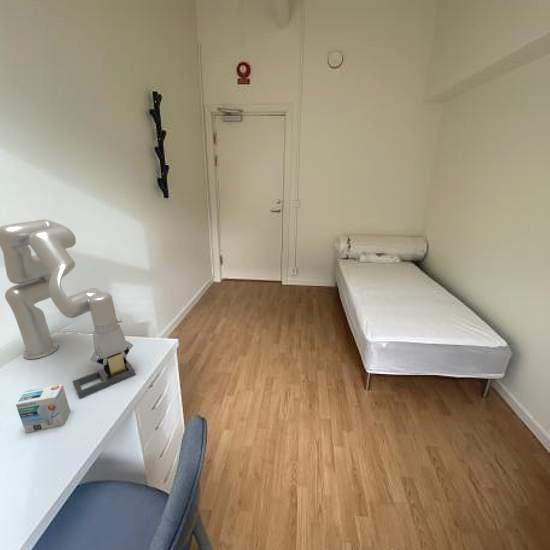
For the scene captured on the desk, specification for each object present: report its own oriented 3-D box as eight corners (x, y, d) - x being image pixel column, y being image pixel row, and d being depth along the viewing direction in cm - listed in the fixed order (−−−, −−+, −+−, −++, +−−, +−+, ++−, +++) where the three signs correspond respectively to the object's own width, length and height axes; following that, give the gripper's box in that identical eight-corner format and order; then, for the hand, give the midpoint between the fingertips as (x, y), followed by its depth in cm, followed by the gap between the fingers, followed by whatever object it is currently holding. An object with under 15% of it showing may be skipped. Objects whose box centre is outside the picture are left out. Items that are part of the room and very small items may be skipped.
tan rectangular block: (108, 371, 122) (103, 353, 119) (121, 366, 125) (117, 348, 122) (112, 377, 118) (107, 359, 116) (126, 372, 121) (122, 353, 119)
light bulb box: (25, 433, 97) (14, 404, 93) (34, 417, 103) (24, 390, 99) (64, 425, 99) (55, 397, 96) (71, 410, 105) (63, 383, 102)
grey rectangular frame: (74, 386, 117) (72, 381, 116) (127, 365, 129) (126, 359, 128) (79, 399, 110) (77, 393, 110) (135, 375, 122) (134, 369, 121)
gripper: (127, 315, 123) (135, 356, 129) (77, 330, 113) (89, 374, 119) (134, 321, 118) (142, 364, 124) (82, 338, 107) (94, 383, 113)
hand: (116, 368), depth 121 cm, fingers closed on tan rectangular block, 5 cm apart
